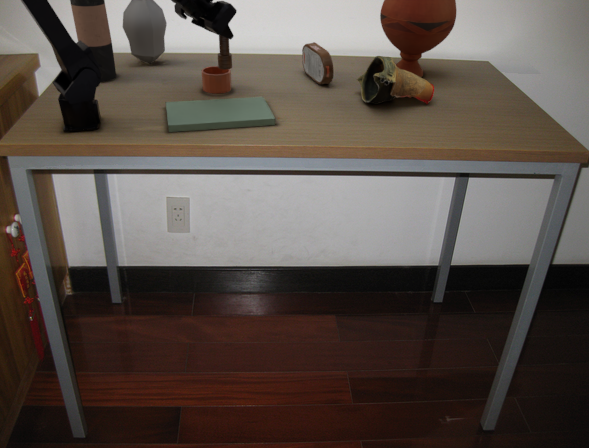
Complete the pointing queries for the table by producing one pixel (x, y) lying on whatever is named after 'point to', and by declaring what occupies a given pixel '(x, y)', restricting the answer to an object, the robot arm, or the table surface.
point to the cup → (216, 80)
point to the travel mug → (95, 33)
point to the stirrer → (224, 54)
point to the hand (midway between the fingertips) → (229, 36)
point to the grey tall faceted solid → (145, 29)
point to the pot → (392, 83)
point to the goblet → (416, 27)
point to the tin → (317, 63)
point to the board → (218, 114)
